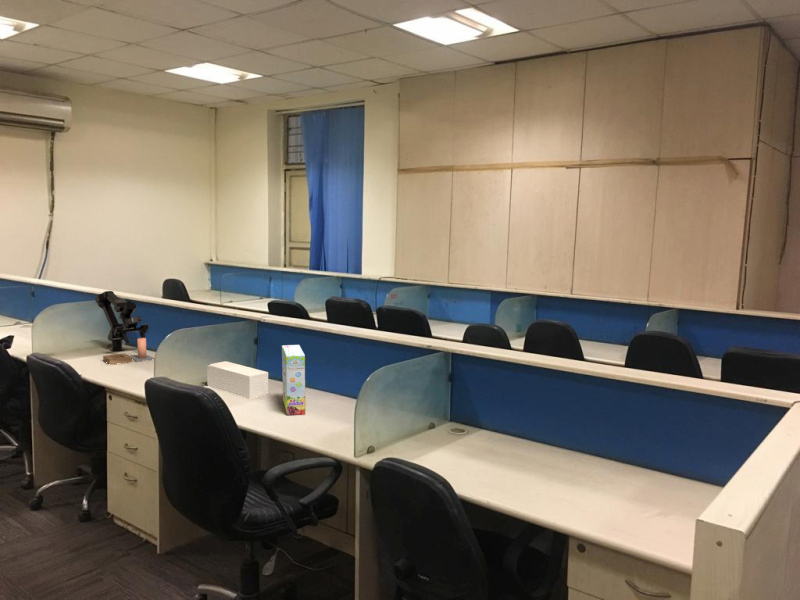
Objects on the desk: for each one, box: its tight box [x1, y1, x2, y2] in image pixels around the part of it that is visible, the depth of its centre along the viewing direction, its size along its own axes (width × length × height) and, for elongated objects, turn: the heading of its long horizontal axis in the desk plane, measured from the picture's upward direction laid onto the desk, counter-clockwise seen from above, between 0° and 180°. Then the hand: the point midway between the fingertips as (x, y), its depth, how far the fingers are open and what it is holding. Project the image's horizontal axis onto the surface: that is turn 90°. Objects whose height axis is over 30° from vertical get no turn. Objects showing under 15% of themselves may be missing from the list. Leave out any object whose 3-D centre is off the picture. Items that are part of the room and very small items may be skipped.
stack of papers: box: [206, 361, 269, 400], centre depth 297 cm, size 32×11×11 cm, turn 51°
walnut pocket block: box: [102, 352, 133, 365], centre depth 348 cm, size 12×12×3 cm
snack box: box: [281, 344, 306, 416], centre depth 271 cm, size 22×9×26 cm, turn 15°
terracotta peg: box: [136, 337, 148, 359], centre depth 355 cm, size 4×4×11 cm
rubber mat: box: [131, 354, 155, 362], centre depth 356 cm, size 10×10×1 cm
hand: (136, 342), depth 359 cm, fingers open, 9 cm apart
